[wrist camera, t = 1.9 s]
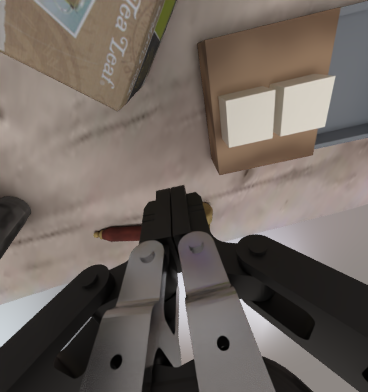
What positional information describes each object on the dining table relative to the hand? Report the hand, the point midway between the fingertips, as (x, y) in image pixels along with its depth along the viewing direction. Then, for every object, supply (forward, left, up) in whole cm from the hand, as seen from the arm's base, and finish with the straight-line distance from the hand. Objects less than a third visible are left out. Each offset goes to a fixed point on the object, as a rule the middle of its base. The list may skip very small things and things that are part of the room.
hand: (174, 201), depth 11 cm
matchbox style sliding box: (0, +11, -18) cm, 21 cm away
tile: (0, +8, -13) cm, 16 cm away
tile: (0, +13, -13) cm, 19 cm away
